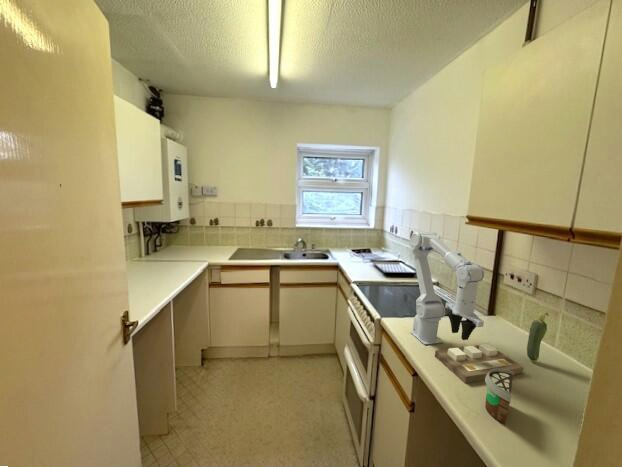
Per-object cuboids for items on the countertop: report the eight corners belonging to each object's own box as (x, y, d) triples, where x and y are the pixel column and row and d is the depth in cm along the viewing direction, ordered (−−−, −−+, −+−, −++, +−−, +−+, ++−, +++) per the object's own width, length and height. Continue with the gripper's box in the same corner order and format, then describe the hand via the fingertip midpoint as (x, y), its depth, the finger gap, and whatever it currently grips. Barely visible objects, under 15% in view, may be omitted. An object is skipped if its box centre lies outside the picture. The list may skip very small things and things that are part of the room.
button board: (434, 356, 99) (435, 349, 99) (486, 349, 106) (487, 343, 105) (465, 383, 86) (466, 375, 86) (522, 373, 92) (523, 366, 92)
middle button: (463, 352, 99) (464, 346, 99) (472, 351, 100) (473, 345, 100) (472, 359, 96) (473, 353, 95) (481, 358, 97) (482, 352, 96)
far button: (478, 350, 101) (479, 344, 101) (487, 349, 102) (488, 343, 102) (487, 357, 97) (489, 351, 97) (496, 356, 98) (497, 350, 98)
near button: (447, 354, 98) (448, 348, 97) (456, 353, 99) (457, 347, 98) (455, 361, 94) (456, 355, 93) (465, 360, 95) (466, 354, 94)
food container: (483, 391, 83) (489, 361, 82) (508, 401, 80) (514, 371, 78) (477, 415, 74) (483, 383, 72) (504, 429, 70) (511, 395, 68)
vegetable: (521, 358, 101) (531, 308, 98) (528, 356, 103) (539, 306, 100) (534, 365, 97) (545, 313, 94) (542, 363, 99) (553, 312, 95)
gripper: (440, 291, 98) (435, 326, 101) (473, 309, 84) (467, 349, 87) (456, 290, 100) (451, 324, 102) (491, 307, 86) (484, 346, 89)
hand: (459, 335), depth 95 cm, fingers open, 4 cm apart
